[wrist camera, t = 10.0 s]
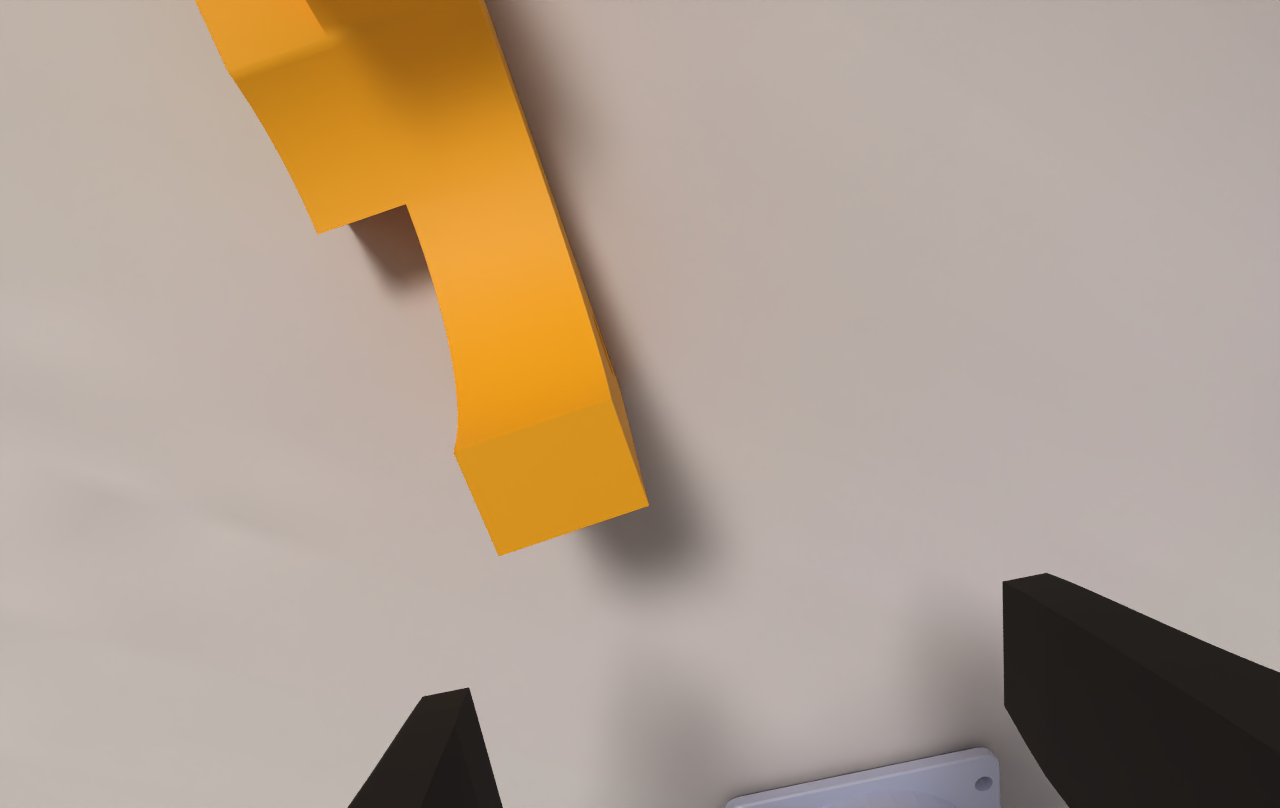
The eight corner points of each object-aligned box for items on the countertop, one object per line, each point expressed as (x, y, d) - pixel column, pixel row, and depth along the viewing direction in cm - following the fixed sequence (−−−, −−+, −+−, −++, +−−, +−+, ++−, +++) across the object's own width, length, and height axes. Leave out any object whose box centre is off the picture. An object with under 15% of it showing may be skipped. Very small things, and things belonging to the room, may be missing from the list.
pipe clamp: (204, -109, 15) (-25, -266, 9) (420, -185, 15) (332, -391, 9) (447, 446, 19) (397, 590, 13) (620, 387, 19) (649, 506, 13)
